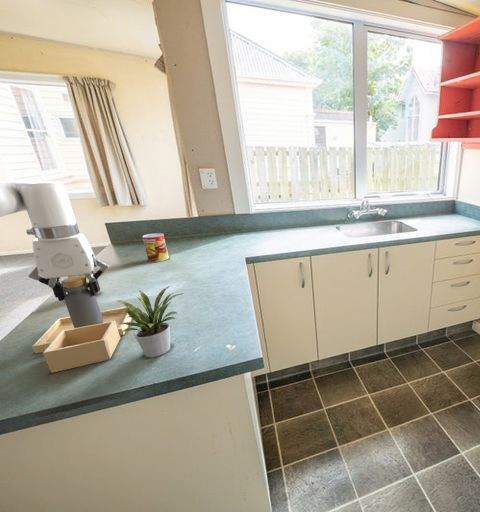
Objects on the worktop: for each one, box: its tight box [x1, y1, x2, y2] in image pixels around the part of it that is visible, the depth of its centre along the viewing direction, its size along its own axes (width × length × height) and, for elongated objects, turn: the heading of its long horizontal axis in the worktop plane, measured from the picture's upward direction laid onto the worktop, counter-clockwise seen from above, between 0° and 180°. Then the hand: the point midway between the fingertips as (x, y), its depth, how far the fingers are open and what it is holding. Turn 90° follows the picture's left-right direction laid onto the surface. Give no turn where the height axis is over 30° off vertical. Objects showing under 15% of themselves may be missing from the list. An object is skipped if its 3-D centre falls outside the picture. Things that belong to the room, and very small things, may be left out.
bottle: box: [60, 276, 104, 328], centre depth 81 cm, size 6×6×15 cm
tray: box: [31, 306, 133, 355], centre depth 83 cm, size 17×15×2 cm
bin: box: [42, 321, 121, 374], centre depth 73 cm, size 10×10×5 cm
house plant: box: [111, 285, 185, 358], centre depth 73 cm, size 14×14×16 cm
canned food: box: [142, 232, 170, 263], centre depth 140 cm, size 8×8×12 cm
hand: (79, 295), depth 80 cm, fingers closed on bottle, 5 cm apart
